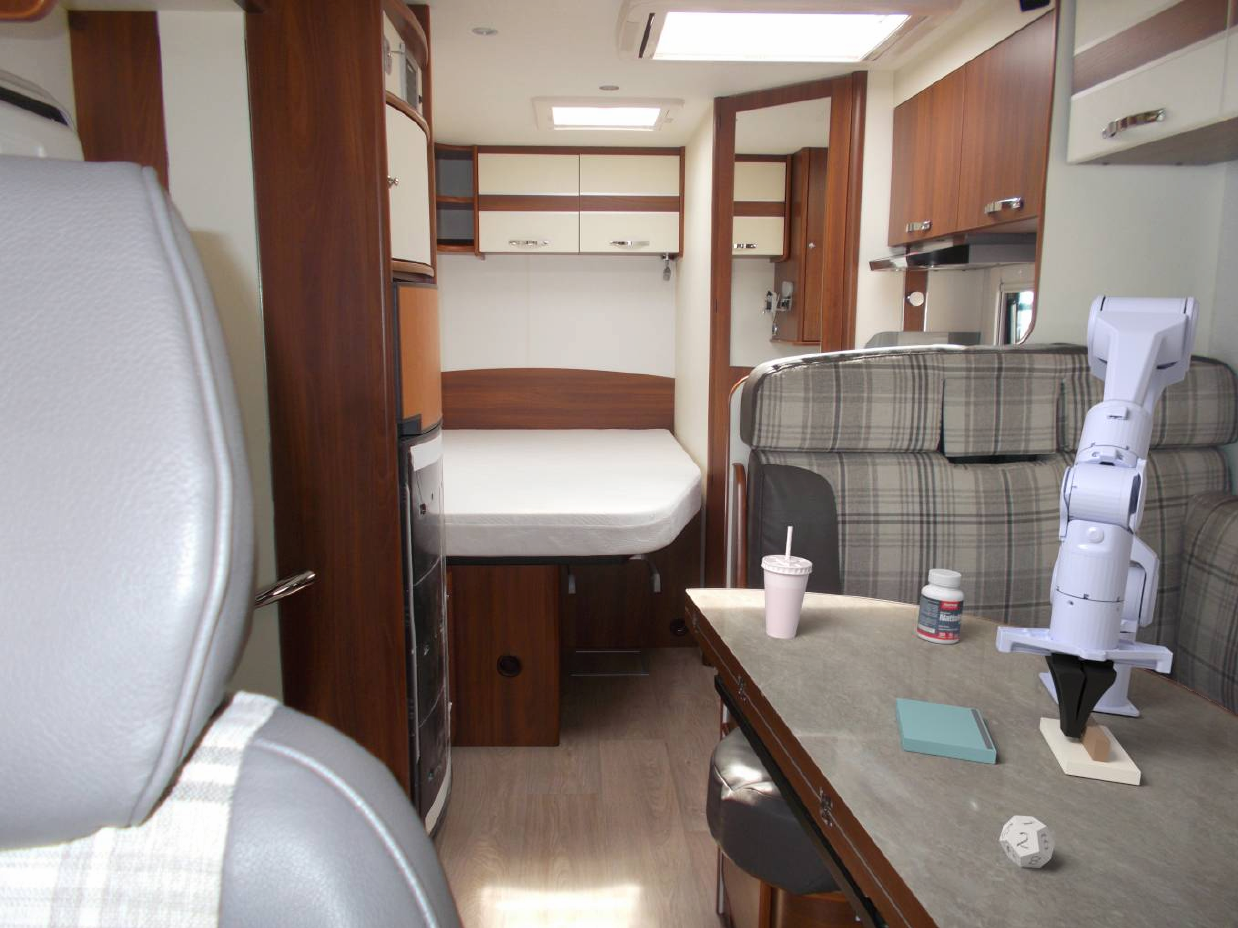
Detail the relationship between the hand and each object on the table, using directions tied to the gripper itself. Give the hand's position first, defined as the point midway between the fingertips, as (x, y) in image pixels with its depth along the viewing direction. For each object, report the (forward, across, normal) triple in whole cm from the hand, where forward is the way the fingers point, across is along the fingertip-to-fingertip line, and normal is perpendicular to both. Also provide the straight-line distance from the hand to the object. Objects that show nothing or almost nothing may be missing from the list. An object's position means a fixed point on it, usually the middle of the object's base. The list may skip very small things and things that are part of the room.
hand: (1069, 733), depth 84 cm
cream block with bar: (+2, +2, 0) cm, 3 cm away
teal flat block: (+2, -11, 0) cm, 11 cm away
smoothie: (+2, -28, +25) cm, 38 cm away
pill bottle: (+2, -8, +32) cm, 33 cm away
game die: (+2, -8, -21) cm, 23 cm away
